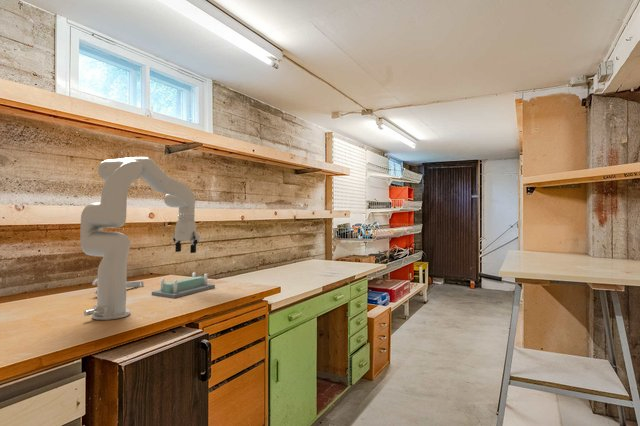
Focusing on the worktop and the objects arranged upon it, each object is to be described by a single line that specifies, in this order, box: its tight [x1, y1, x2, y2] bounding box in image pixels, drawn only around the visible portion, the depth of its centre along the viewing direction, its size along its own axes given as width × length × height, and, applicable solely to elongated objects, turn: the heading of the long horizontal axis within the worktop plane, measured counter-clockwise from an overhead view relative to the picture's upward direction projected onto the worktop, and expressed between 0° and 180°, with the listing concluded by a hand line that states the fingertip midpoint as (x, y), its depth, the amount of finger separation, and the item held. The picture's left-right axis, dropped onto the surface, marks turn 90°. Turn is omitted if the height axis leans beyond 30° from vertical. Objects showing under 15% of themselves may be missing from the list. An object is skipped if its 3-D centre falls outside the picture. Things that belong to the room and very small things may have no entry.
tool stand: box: [151, 271, 216, 299], centre depth 186 cm, size 28×14×8 cm, turn 156°
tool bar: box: [163, 276, 204, 293], centre depth 186 cm, size 24×4×4 cm, turn 156°
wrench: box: [91, 278, 145, 295], centre depth 183 cm, size 8×2×30 cm
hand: (185, 252), depth 186 cm, fingers open, 9 cm apart
